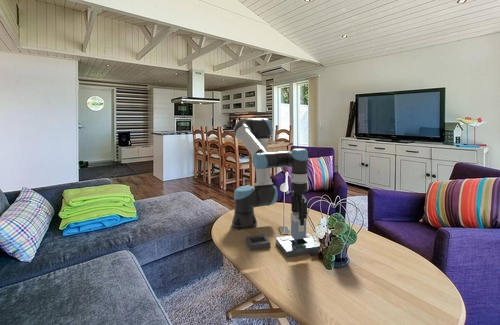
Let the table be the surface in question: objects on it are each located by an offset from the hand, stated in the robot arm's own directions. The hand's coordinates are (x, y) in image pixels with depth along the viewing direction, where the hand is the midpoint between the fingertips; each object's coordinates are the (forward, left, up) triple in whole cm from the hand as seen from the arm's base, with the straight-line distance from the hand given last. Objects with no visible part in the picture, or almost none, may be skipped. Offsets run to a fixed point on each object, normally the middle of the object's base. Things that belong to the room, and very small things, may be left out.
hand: (298, 229), depth 124 cm
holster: (-9, -18, -10) cm, 23 cm away
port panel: (0, 0, -10) cm, 10 cm away
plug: (0, 0, -4) cm, 4 cm away
